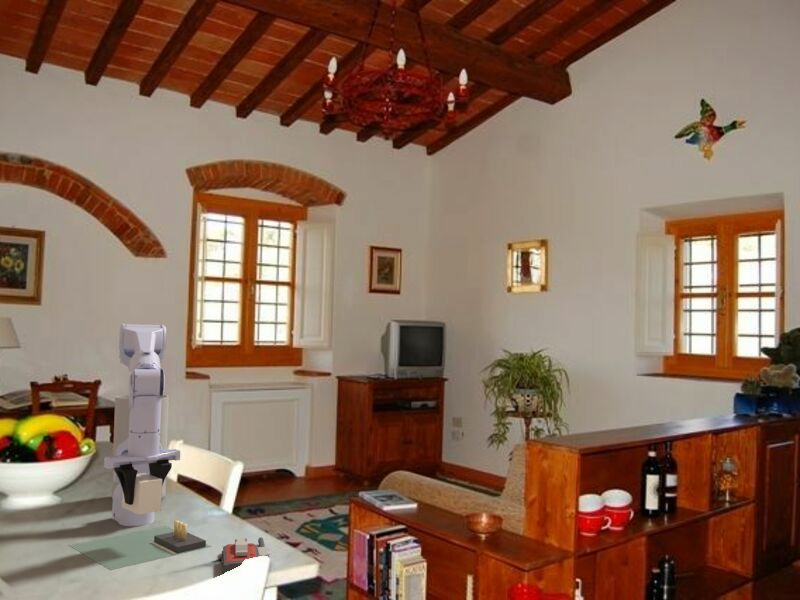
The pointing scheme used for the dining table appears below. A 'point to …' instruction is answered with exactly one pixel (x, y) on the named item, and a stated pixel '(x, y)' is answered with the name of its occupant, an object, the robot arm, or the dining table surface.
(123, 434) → the cylinder vase
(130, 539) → the header board
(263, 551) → the walkie-talkie
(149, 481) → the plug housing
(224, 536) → the dining table surface
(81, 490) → the dining table surface
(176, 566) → the dining table surface
